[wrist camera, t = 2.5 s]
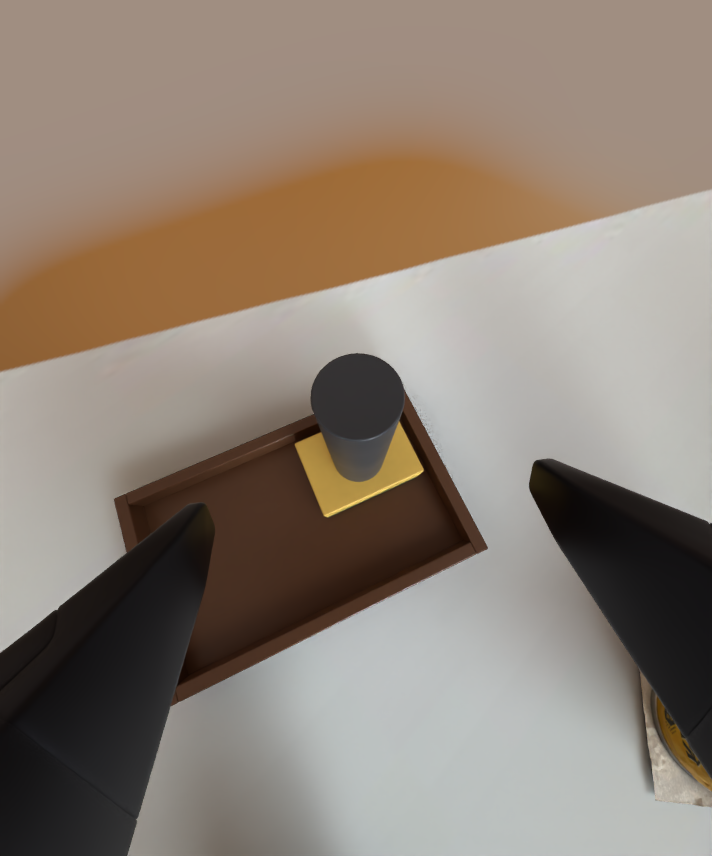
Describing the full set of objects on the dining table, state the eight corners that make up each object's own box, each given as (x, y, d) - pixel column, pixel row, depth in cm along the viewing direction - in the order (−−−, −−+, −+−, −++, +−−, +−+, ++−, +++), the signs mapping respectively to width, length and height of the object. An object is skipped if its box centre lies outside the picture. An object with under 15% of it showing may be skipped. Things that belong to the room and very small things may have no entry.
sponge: (386, 415, 22) (414, 301, 11) (417, 476, 21) (484, 420, 10) (300, 452, 21) (237, 371, 10) (327, 518, 20) (289, 507, 9)
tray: (394, 390, 23) (398, 377, 21) (475, 546, 20) (488, 548, 18) (136, 501, 21) (112, 498, 19) (185, 690, 18) (163, 710, 16)
